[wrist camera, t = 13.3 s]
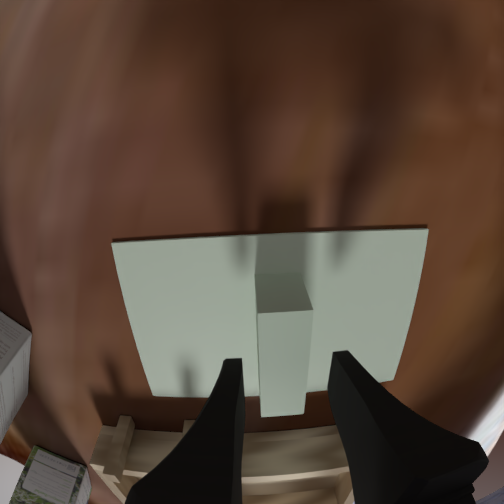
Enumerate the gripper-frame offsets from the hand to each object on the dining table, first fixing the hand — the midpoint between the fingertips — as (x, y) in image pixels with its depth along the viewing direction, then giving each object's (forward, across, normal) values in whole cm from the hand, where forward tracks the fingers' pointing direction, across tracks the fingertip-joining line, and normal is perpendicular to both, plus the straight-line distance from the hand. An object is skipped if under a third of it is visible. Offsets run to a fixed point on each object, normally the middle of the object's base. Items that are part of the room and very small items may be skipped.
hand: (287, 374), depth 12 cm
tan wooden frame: (+4, +3, +14) cm, 15 cm away
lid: (+4, 0, 0) cm, 4 cm away
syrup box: (+4, +20, +18) cm, 27 cm away
